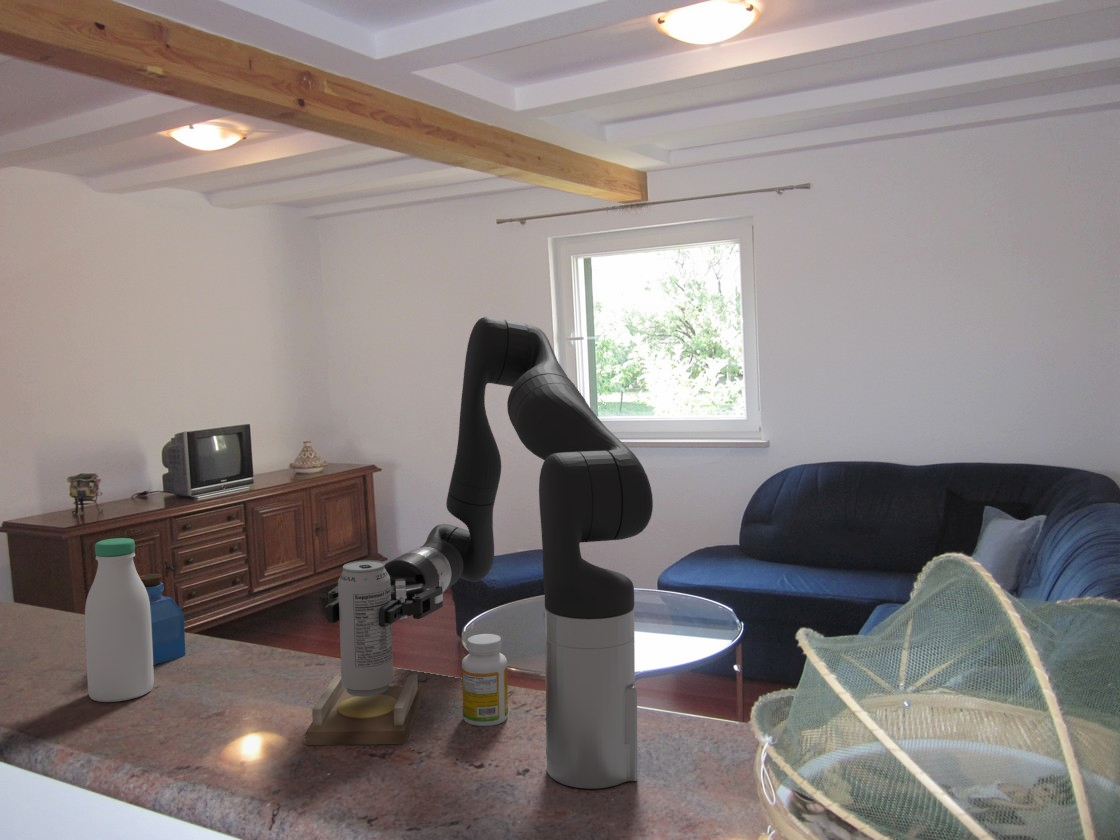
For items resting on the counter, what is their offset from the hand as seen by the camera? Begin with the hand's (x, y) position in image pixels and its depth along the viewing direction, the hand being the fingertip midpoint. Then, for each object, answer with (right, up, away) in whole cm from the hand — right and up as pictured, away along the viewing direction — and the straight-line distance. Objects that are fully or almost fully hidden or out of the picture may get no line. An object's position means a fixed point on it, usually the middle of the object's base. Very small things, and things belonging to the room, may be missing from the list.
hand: (355, 616), depth 106 cm
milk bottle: (-33, -13, +13) cm, 38 cm away
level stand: (+1, -13, +3) cm, 13 cm away
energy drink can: (+1, -9, +3) cm, 10 cm away
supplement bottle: (+15, -13, +3) cm, 20 cm away
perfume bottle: (-35, -12, +27) cm, 46 cm away
